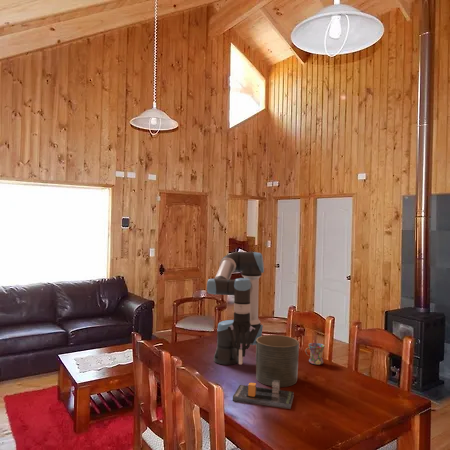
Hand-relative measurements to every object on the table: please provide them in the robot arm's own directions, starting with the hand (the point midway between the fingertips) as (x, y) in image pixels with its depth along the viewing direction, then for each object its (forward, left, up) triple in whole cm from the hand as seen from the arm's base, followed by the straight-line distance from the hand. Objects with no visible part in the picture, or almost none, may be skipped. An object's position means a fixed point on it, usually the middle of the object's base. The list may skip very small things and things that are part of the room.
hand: (240, 363), depth 182 cm
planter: (+13, +29, -16) cm, 35 cm away
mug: (+31, +61, -16) cm, 70 cm away
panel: (+11, +3, -16) cm, 19 cm away
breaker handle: (+6, 0, -14) cm, 15 cm away
